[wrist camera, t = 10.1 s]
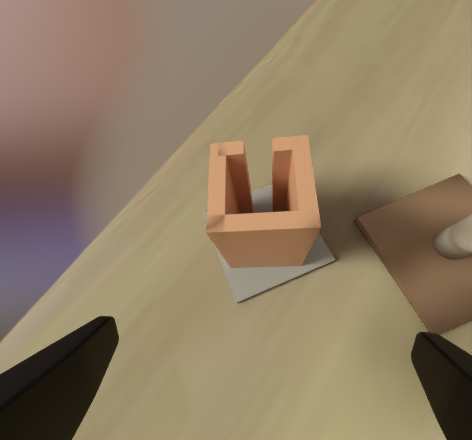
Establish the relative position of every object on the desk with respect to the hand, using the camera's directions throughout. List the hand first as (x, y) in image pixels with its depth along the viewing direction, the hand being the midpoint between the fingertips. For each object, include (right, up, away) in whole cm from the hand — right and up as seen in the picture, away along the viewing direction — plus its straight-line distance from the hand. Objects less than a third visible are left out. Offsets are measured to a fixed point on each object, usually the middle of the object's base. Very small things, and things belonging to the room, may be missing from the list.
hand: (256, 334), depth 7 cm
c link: (+2, +2, +15) cm, 15 cm away
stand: (+17, +1, +13) cm, 21 cm away
